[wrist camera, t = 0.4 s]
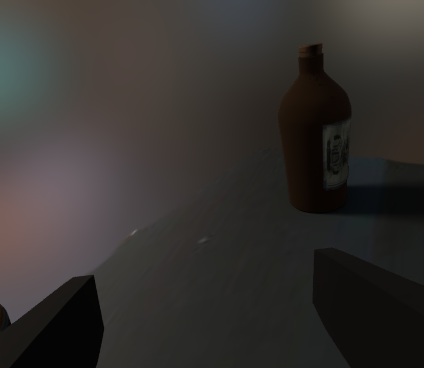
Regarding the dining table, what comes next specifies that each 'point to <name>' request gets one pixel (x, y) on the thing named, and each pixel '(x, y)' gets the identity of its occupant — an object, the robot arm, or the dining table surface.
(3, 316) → the beer stein
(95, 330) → the robot arm
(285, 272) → the dining table surface
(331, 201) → the olive oil
